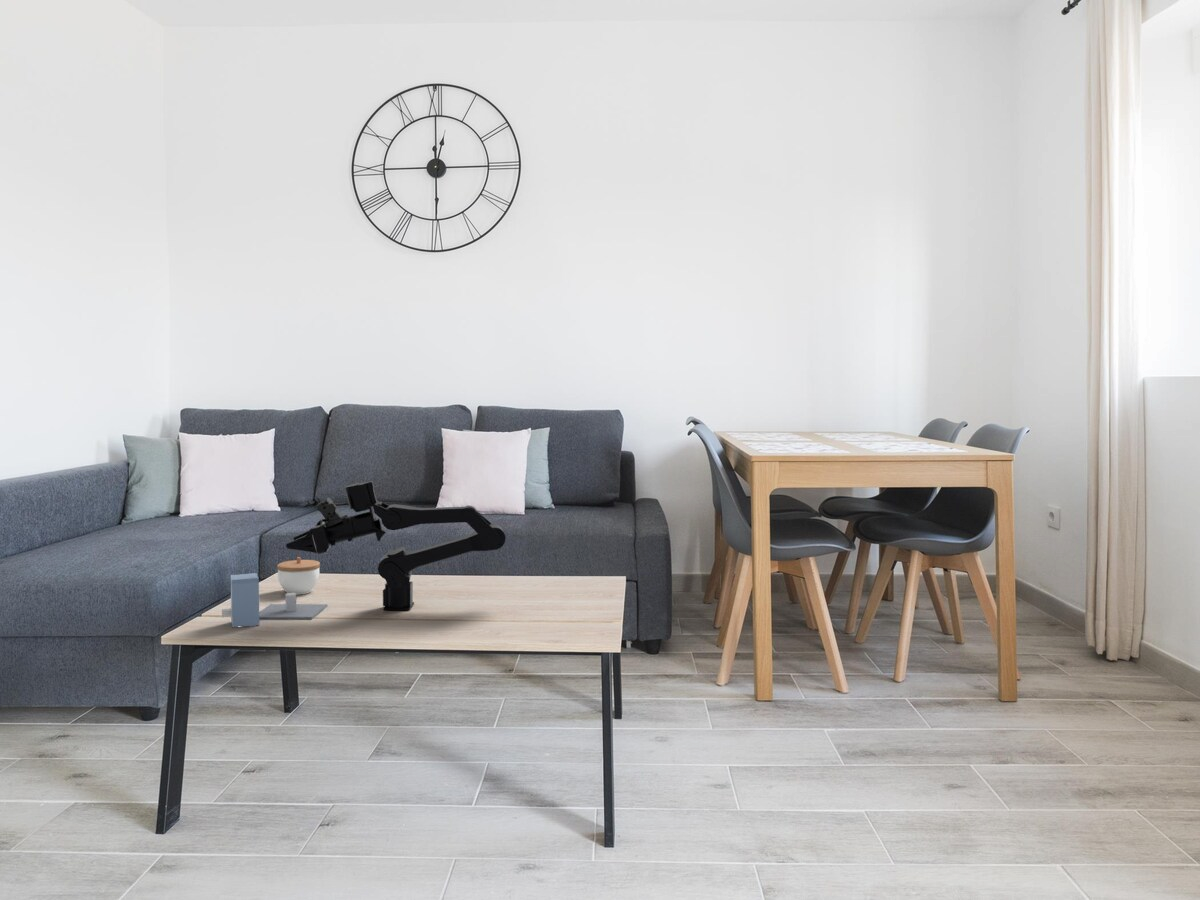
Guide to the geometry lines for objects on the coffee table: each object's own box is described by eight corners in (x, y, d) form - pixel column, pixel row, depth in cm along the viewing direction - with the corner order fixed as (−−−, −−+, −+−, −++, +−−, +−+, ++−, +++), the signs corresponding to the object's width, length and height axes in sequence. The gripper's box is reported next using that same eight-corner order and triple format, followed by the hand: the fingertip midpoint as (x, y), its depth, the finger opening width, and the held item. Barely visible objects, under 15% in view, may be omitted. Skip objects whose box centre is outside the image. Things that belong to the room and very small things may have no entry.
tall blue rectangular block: (257, 619, 189) (256, 573, 188) (259, 625, 184) (258, 577, 183) (221, 622, 185) (221, 575, 184) (222, 629, 180) (221, 580, 179)
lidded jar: (306, 598, 209) (305, 562, 209) (269, 595, 212) (268, 560, 211) (327, 588, 220) (327, 554, 219) (292, 586, 222) (292, 552, 222)
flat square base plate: (327, 606, 201) (327, 588, 201) (312, 619, 189) (312, 600, 189) (270, 606, 201) (270, 588, 200) (252, 618, 189) (251, 600, 188)
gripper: (351, 491, 206) (289, 506, 204) (341, 499, 188) (273, 516, 185) (362, 532, 207) (300, 548, 205) (353, 545, 189) (285, 562, 187)
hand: (290, 542), depth 195 cm, fingers open, 9 cm apart
